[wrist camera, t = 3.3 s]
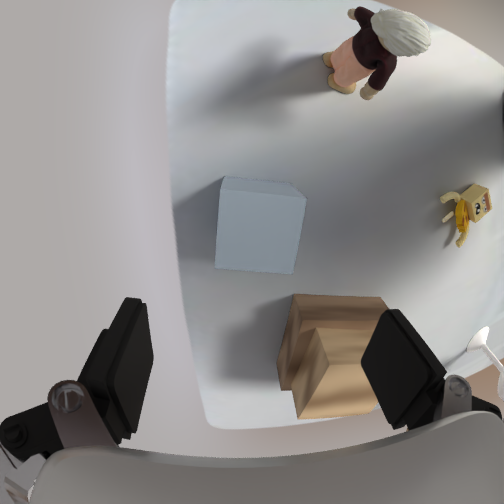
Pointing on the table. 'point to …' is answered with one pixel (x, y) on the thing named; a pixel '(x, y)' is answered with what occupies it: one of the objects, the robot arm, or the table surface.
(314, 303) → the tower bottom
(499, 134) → the table surface
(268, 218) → the blue cube
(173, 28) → the table surface
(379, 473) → the robot arm
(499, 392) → the champagne flute
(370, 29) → the grandmother figurine
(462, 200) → the character toy
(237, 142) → the table surface
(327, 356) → the tower top
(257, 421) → the table surface
